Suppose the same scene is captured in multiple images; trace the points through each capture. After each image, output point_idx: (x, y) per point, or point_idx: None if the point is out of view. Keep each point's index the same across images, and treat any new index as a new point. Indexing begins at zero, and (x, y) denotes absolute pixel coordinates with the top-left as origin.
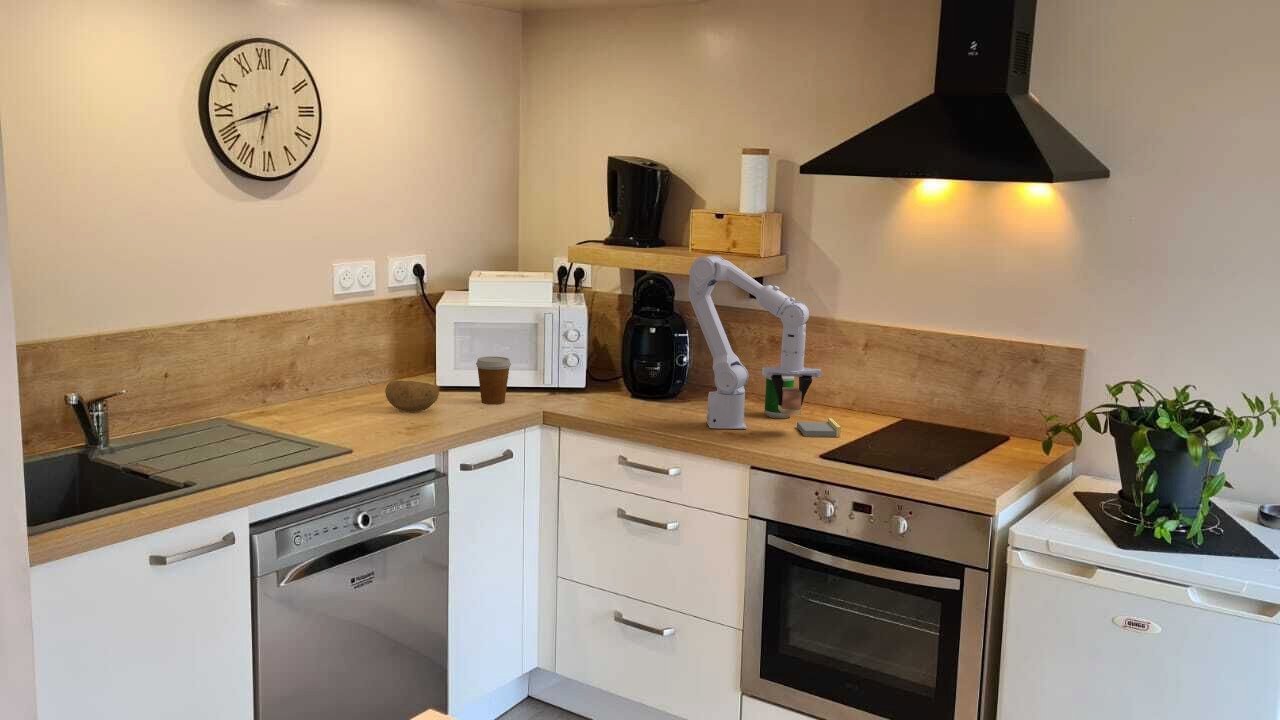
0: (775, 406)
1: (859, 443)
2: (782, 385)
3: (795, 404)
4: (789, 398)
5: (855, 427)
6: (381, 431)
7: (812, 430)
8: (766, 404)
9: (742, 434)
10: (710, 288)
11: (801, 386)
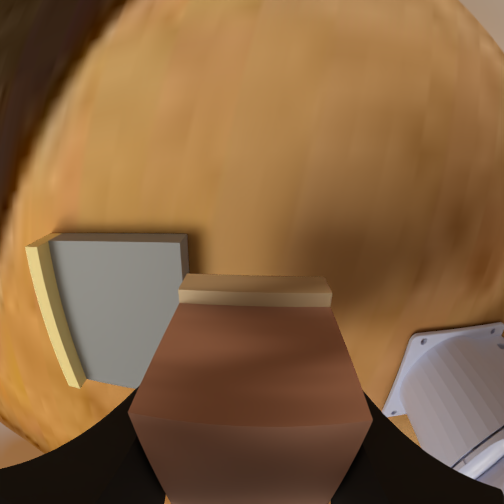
0: None
1: (9, 143)
2: (394, 495)
3: (220, 327)
4: (286, 368)
5: (30, 359)
6: None
7: (141, 246)
8: None
9: (452, 258)
10: None
11: (126, 494)
